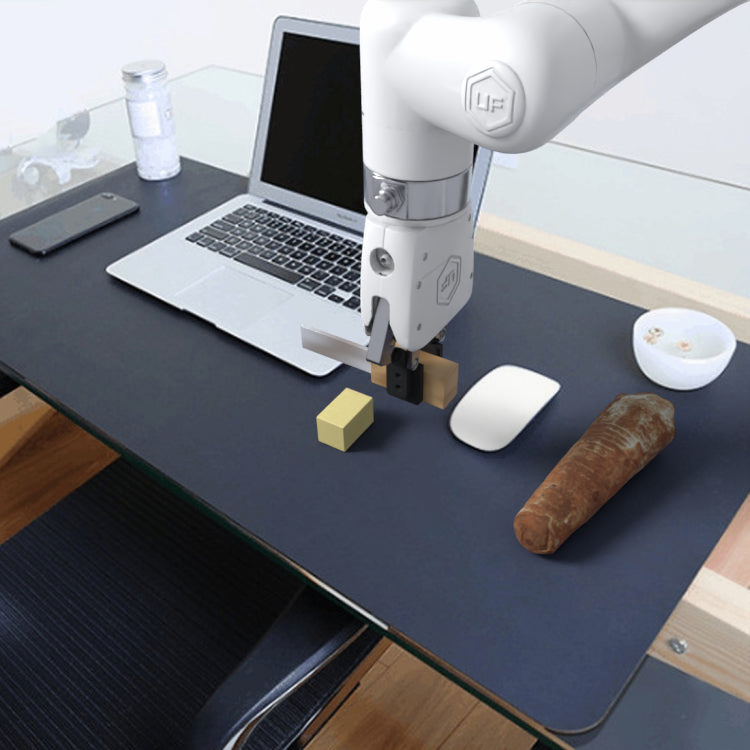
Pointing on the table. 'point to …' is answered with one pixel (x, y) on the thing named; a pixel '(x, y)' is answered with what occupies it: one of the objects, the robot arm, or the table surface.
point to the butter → (345, 419)
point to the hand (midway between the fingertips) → (414, 386)
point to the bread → (595, 469)
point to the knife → (437, 370)
